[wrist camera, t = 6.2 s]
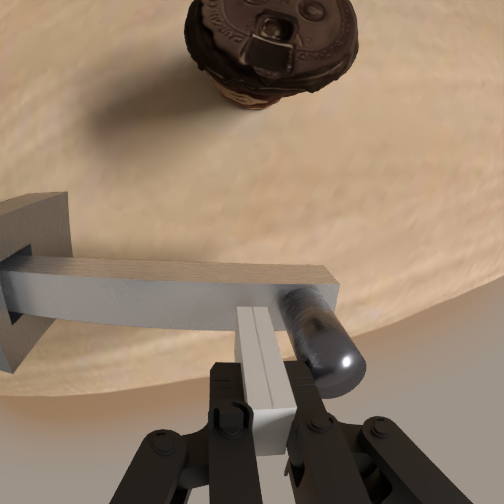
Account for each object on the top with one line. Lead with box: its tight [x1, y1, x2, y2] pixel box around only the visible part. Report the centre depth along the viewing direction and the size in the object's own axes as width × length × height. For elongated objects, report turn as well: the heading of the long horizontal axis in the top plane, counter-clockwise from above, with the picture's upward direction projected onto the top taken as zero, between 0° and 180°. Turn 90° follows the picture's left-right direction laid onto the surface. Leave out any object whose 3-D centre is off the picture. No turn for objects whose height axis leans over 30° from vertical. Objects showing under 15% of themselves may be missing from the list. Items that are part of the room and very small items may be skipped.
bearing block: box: [0, 192, 73, 374], centre depth 18 cm, size 5×10×13 cm, turn 176°
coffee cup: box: [184, 0, 359, 109], centre depth 16 cm, size 9×8×13 cm
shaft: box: [0, 255, 366, 399], centre depth 14 cm, size 26×3×9 cm, turn 86°
